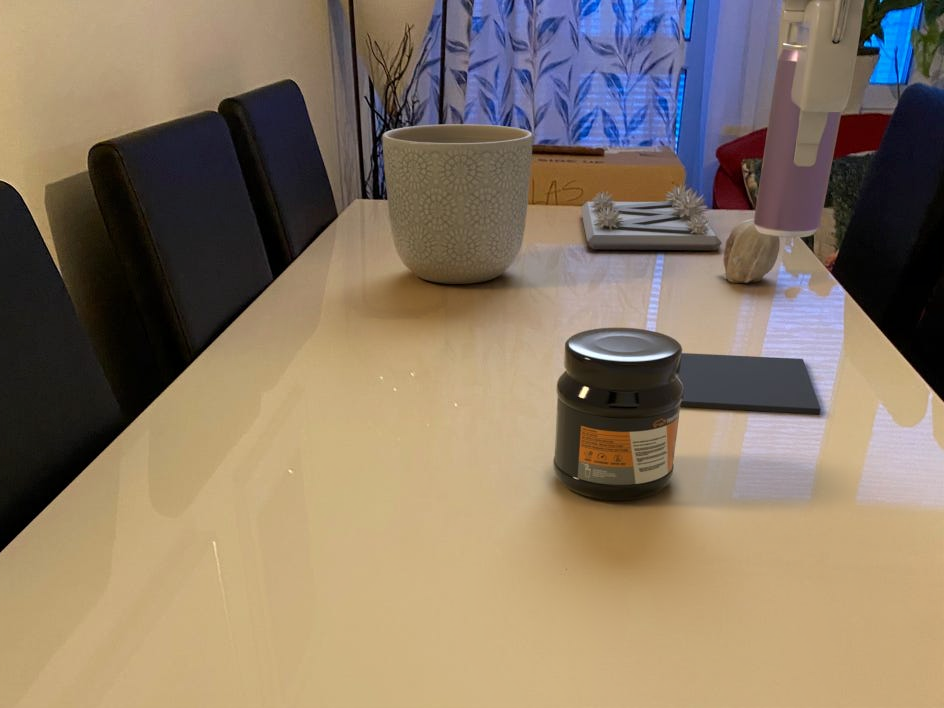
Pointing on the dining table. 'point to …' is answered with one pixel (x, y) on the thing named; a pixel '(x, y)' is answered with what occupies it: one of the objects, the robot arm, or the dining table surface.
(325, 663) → the dining table surface
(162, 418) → the dining table surface
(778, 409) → the mat
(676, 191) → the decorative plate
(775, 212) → the beverage can
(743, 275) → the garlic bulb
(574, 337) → the supplement container
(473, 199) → the planter
